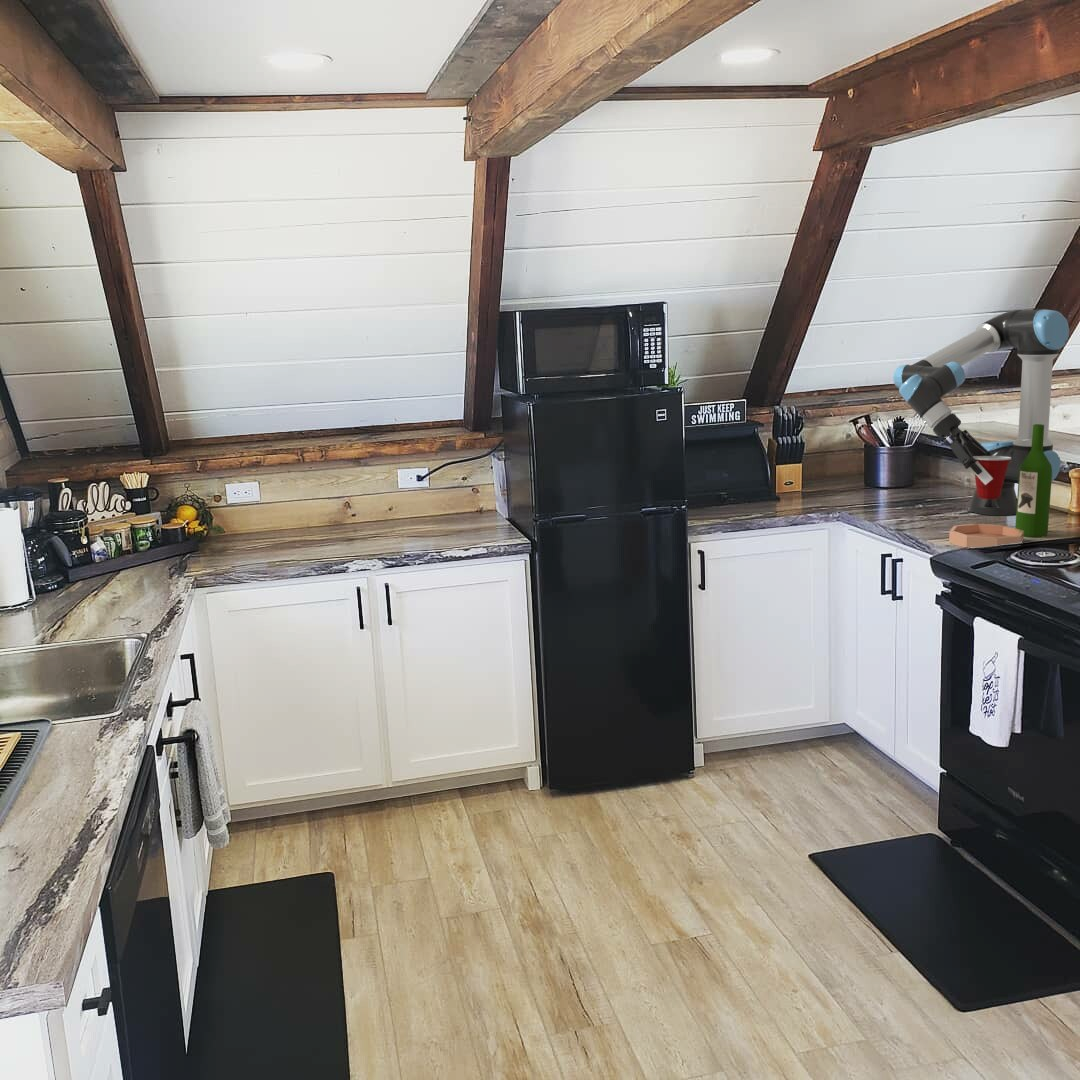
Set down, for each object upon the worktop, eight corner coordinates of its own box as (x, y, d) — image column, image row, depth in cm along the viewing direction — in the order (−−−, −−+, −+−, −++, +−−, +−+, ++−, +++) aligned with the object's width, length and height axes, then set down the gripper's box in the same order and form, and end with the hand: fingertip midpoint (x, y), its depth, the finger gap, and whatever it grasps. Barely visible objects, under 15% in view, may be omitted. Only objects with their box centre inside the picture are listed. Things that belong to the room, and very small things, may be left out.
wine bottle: (1009, 534, 332) (1016, 425, 325) (1022, 530, 338) (1029, 422, 331) (1040, 539, 326) (1048, 427, 319) (1052, 533, 332) (1060, 424, 325)
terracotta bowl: (991, 533, 335) (992, 521, 334) (1036, 546, 317) (1037, 534, 316) (936, 538, 329) (937, 527, 329) (979, 552, 312) (980, 540, 311)
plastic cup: (1002, 493, 325) (1004, 452, 322) (1013, 500, 315) (1016, 458, 312) (963, 494, 326) (966, 453, 323) (973, 501, 316) (976, 458, 313)
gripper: (945, 425, 335) (996, 481, 329) (918, 433, 318) (972, 493, 312) (964, 408, 331) (1017, 465, 325) (938, 415, 314) (993, 476, 307)
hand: (995, 479), depth 318 cm, fingers closed on plastic cup, 10 cm apart
